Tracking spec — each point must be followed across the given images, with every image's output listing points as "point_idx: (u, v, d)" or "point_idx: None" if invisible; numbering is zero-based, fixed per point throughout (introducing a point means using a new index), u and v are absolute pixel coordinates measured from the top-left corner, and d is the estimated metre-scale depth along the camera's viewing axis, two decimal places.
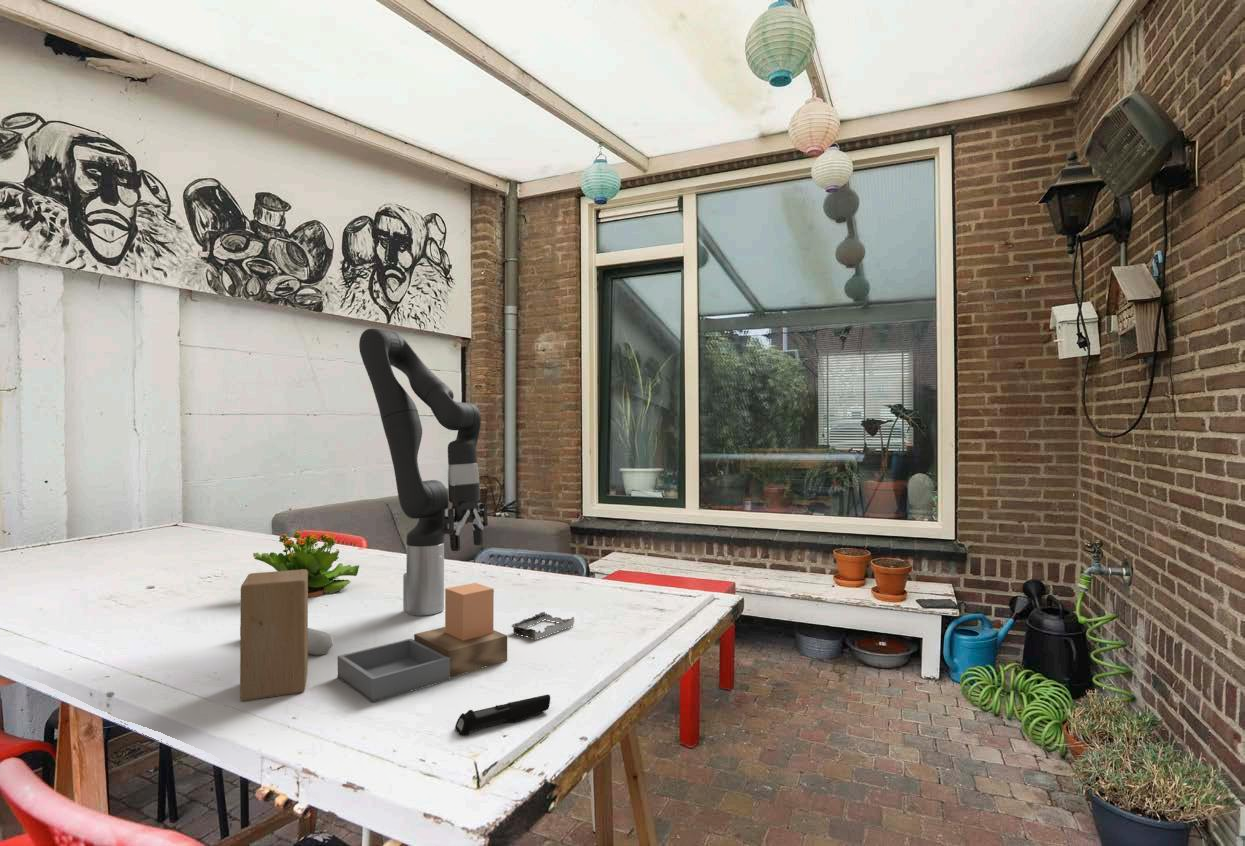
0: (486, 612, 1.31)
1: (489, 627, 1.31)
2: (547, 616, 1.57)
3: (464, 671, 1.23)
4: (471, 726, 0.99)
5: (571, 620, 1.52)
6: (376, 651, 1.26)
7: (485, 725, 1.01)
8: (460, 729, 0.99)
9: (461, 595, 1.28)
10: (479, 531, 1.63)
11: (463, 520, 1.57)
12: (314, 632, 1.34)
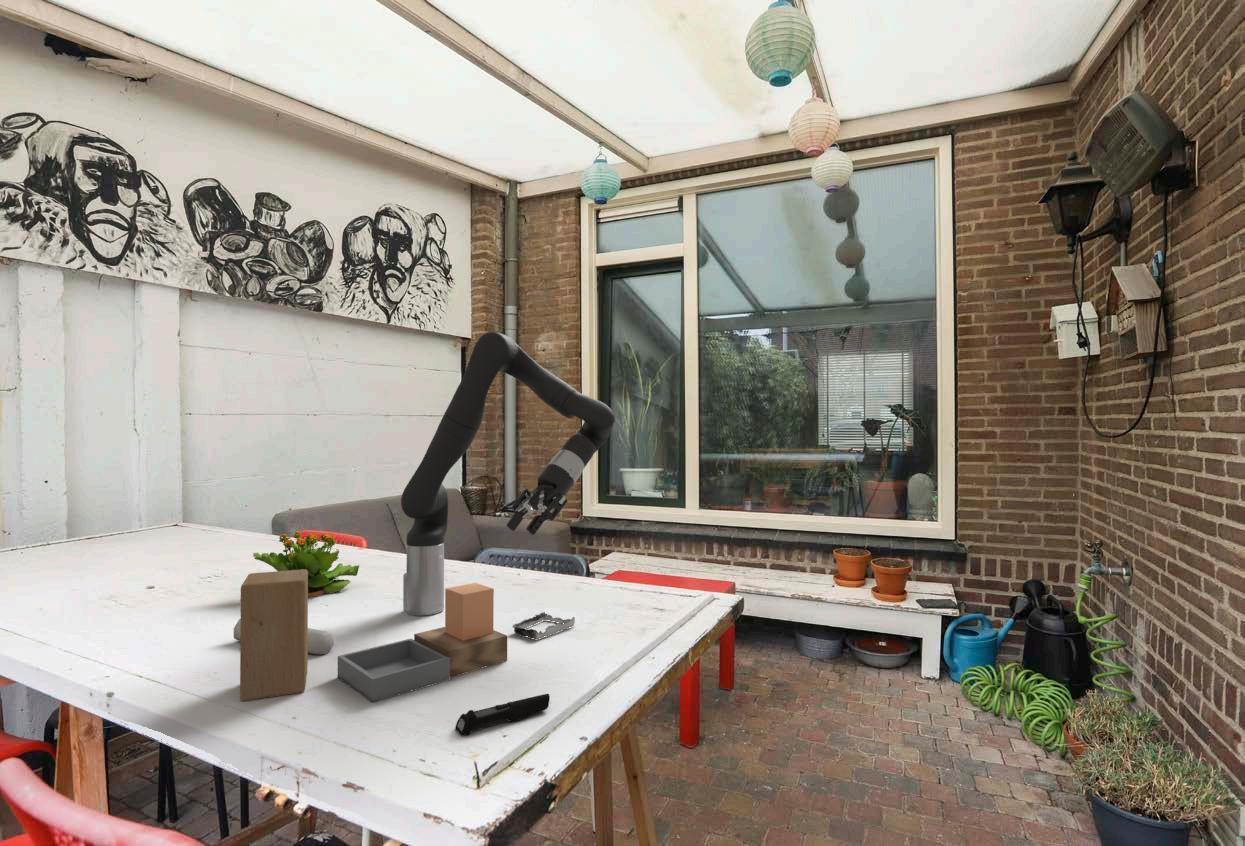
0: (486, 612, 1.31)
1: (489, 627, 1.31)
2: (547, 616, 1.57)
3: (464, 671, 1.23)
4: (472, 726, 0.99)
5: (572, 620, 1.52)
6: (376, 651, 1.26)
7: (486, 725, 1.01)
8: (461, 729, 0.99)
9: (461, 595, 1.28)
10: (521, 518, 1.45)
11: None
12: (315, 632, 1.34)
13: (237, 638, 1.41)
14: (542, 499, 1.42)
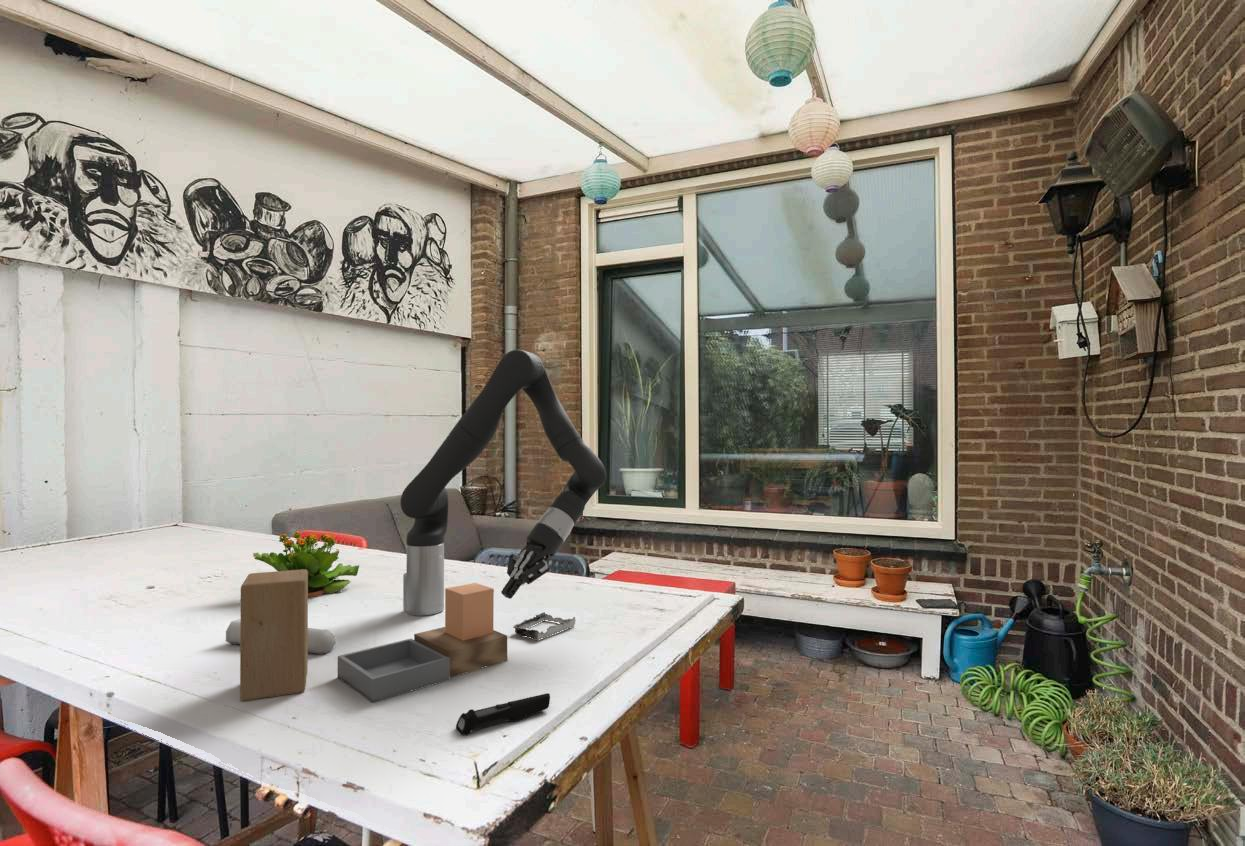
0: (486, 612, 1.31)
1: (489, 627, 1.31)
2: (547, 616, 1.57)
3: (464, 671, 1.23)
4: (472, 725, 0.99)
5: (572, 620, 1.52)
6: (376, 651, 1.26)
7: (486, 724, 1.01)
8: (461, 728, 0.99)
9: (461, 595, 1.28)
10: None
11: None
12: (317, 631, 1.35)
13: (229, 641, 1.39)
14: (526, 562, 1.40)
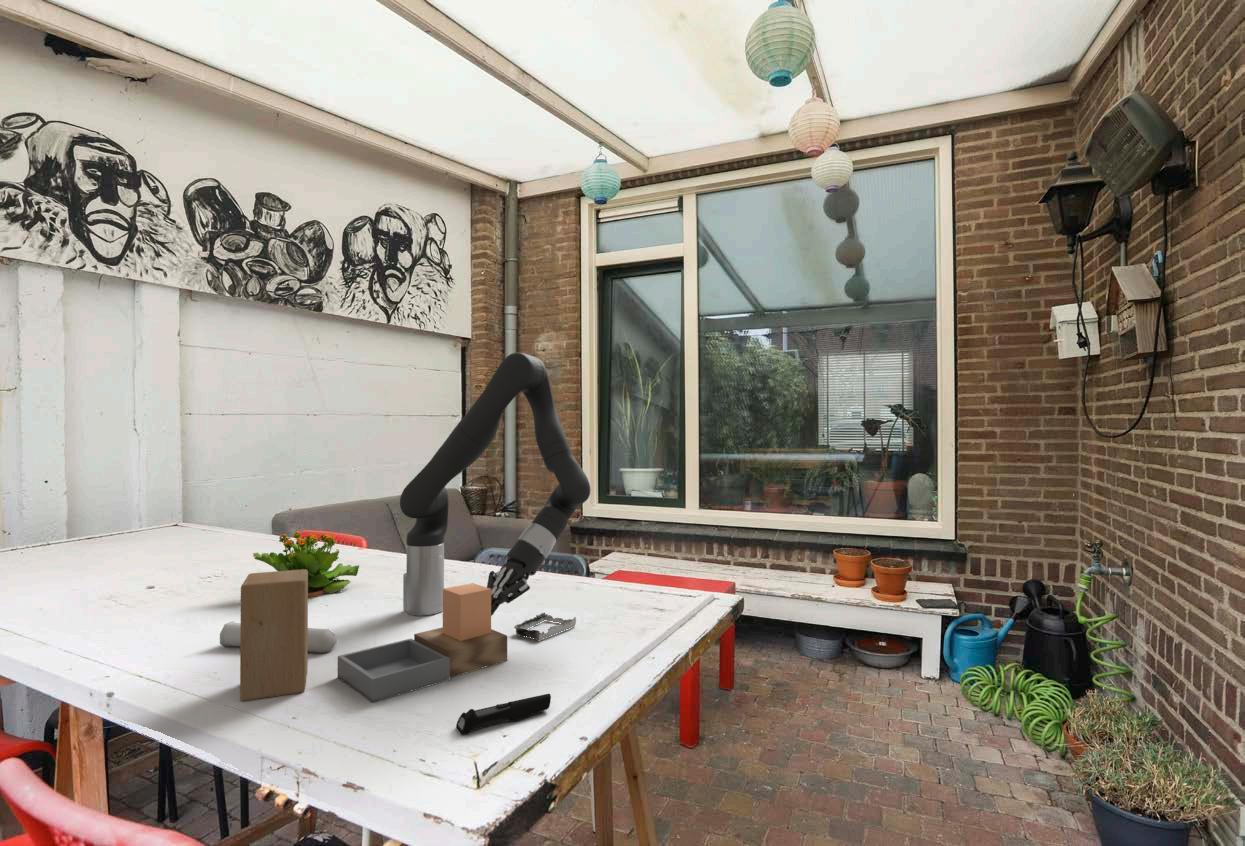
0: (483, 612, 1.30)
1: (487, 627, 1.31)
2: (548, 617, 1.57)
3: (464, 671, 1.23)
4: (472, 725, 0.99)
5: (573, 620, 1.51)
6: (376, 651, 1.26)
7: (486, 724, 1.01)
8: (461, 728, 0.99)
9: (458, 595, 1.27)
10: None
11: None
12: (318, 630, 1.35)
13: (224, 644, 1.37)
14: (506, 580, 1.37)
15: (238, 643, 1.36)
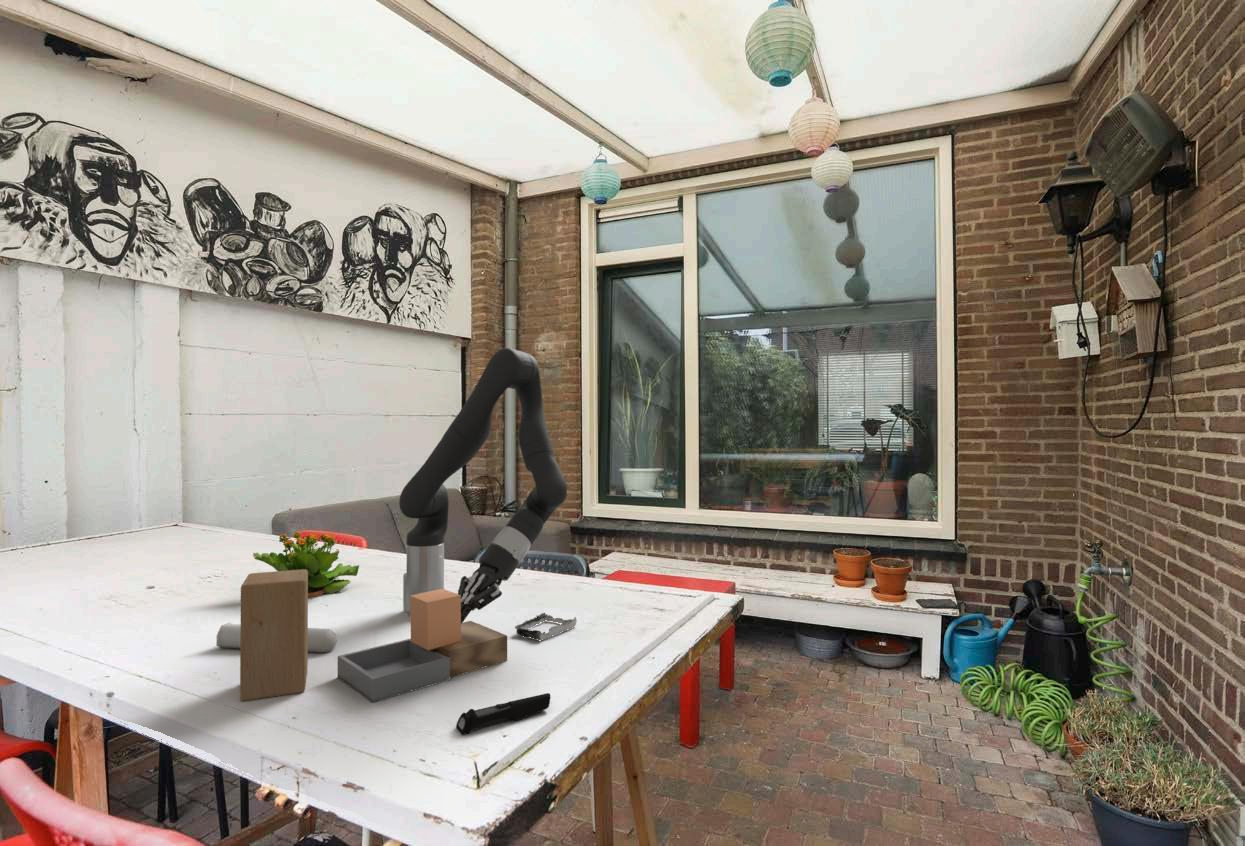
0: (453, 620, 1.25)
1: (457, 635, 1.26)
2: (548, 617, 1.56)
3: (464, 671, 1.23)
4: (472, 725, 0.99)
5: (573, 620, 1.51)
6: (376, 651, 1.26)
7: (486, 724, 1.01)
8: (461, 728, 0.99)
9: (425, 603, 1.22)
10: None
11: None
12: (319, 630, 1.35)
13: (220, 645, 1.36)
14: (477, 586, 1.32)
15: (236, 644, 1.36)
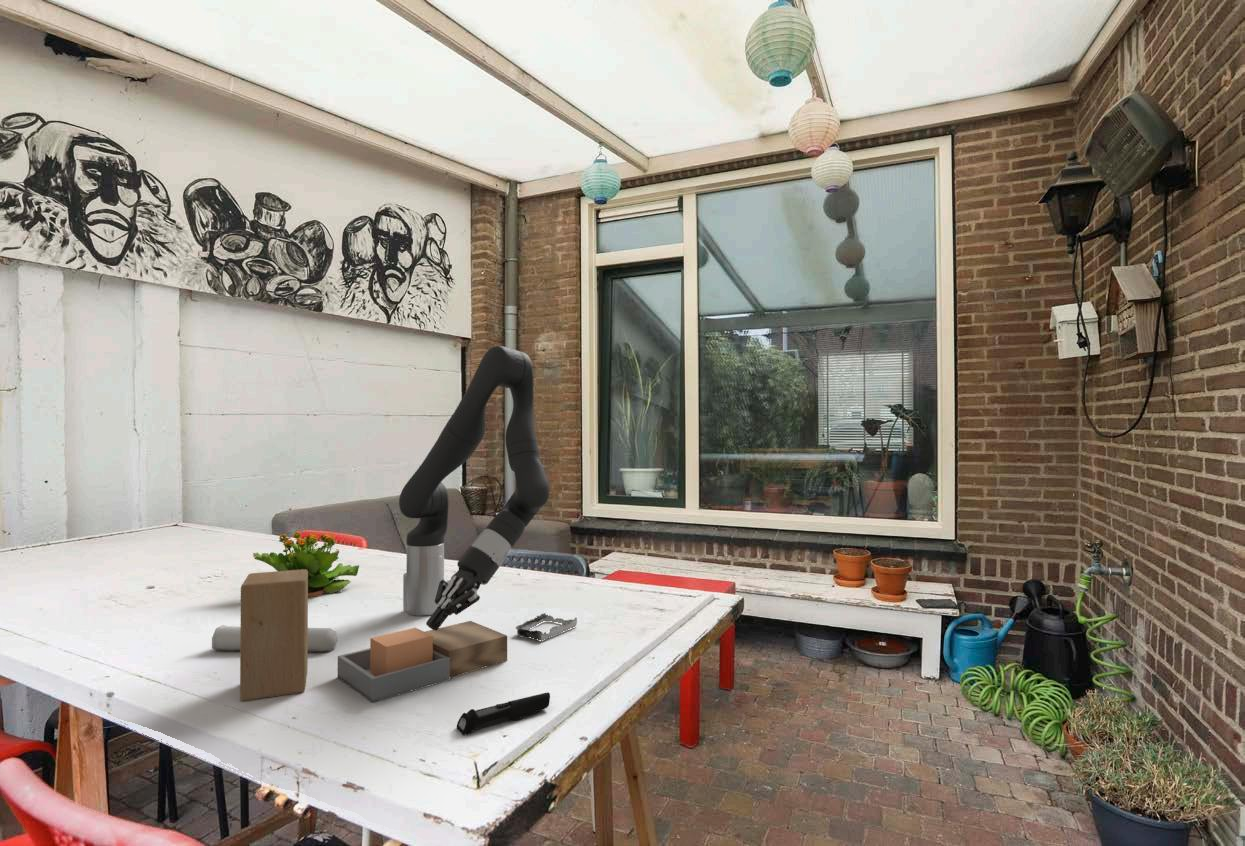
0: (410, 650, 1.19)
1: (426, 641, 1.21)
2: (548, 617, 1.56)
3: (464, 671, 1.23)
4: (473, 725, 0.99)
5: (574, 621, 1.51)
6: None
7: (487, 724, 1.01)
8: (462, 728, 0.99)
9: None
10: None
11: None
12: (320, 630, 1.36)
13: (216, 648, 1.35)
14: (454, 590, 1.28)
15: (233, 646, 1.34)
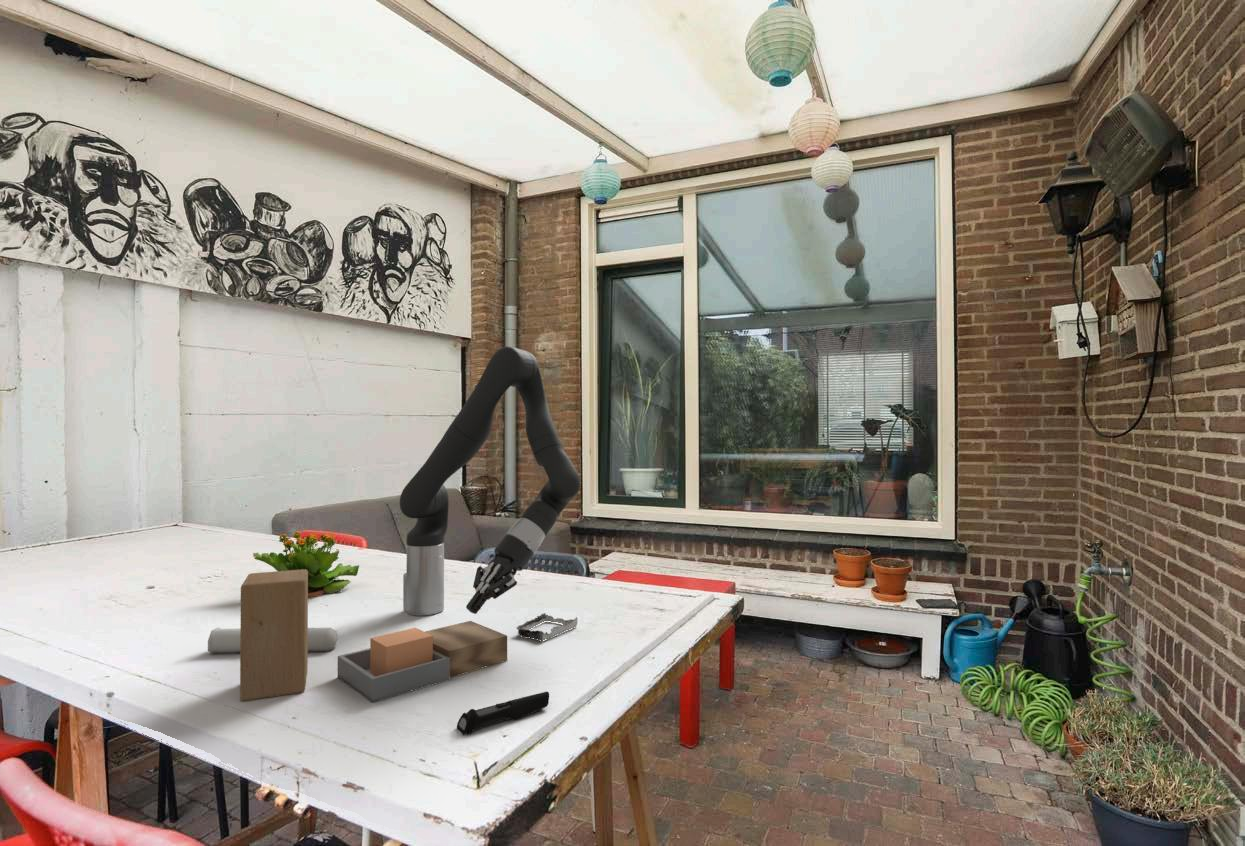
0: (410, 650, 1.19)
1: (426, 641, 1.21)
2: (548, 617, 1.56)
3: (464, 671, 1.23)
4: (474, 725, 0.99)
5: (575, 620, 1.51)
6: None
7: (487, 723, 1.01)
8: (463, 728, 0.99)
9: None
10: None
11: None
12: (321, 629, 1.36)
13: (212, 650, 1.33)
14: (492, 575, 1.34)
15: (230, 648, 1.33)
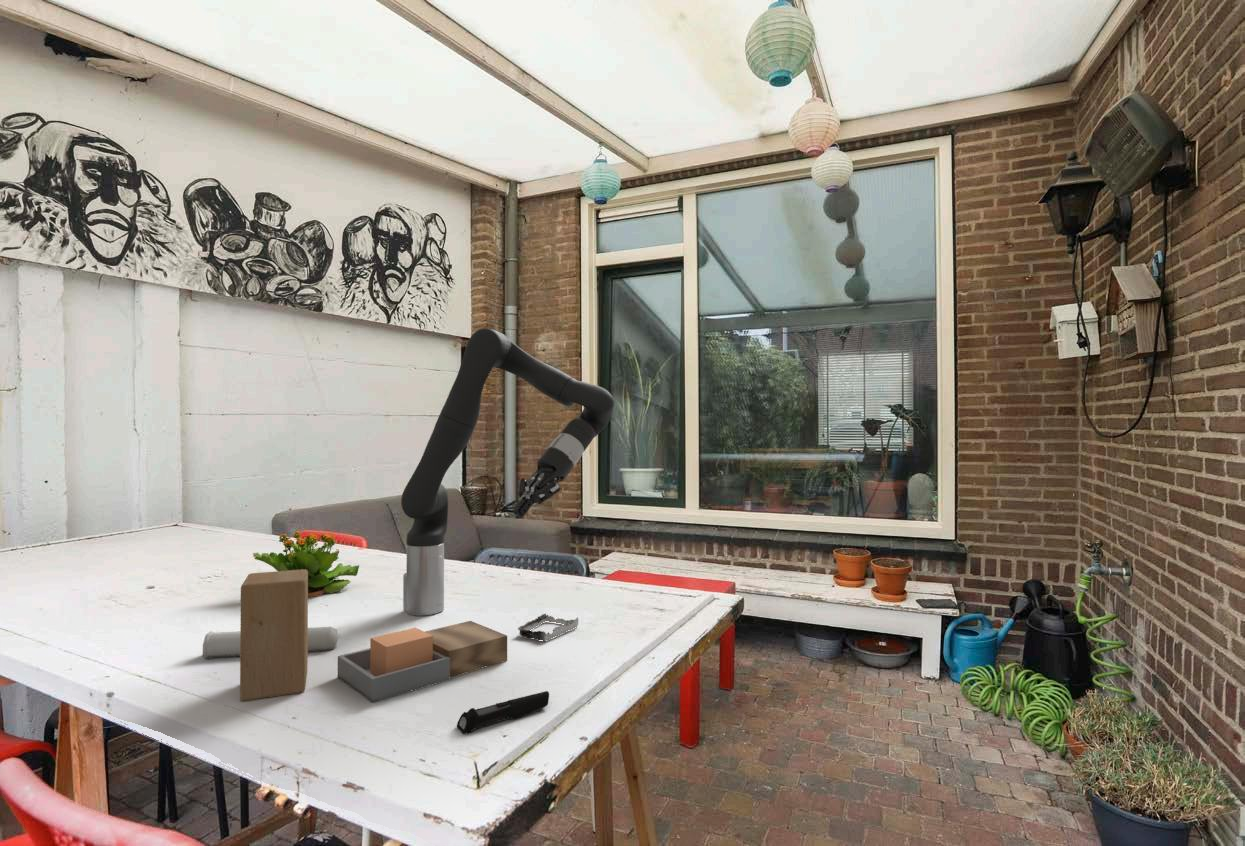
0: (410, 650, 1.19)
1: (426, 641, 1.21)
2: (549, 618, 1.56)
3: (464, 671, 1.23)
4: (474, 724, 0.99)
5: (576, 621, 1.51)
6: None
7: (487, 723, 1.01)
8: (463, 727, 1.00)
9: None
10: None
11: None
12: (322, 628, 1.37)
13: (207, 655, 1.30)
14: (537, 483, 1.43)
15: (227, 652, 1.31)
